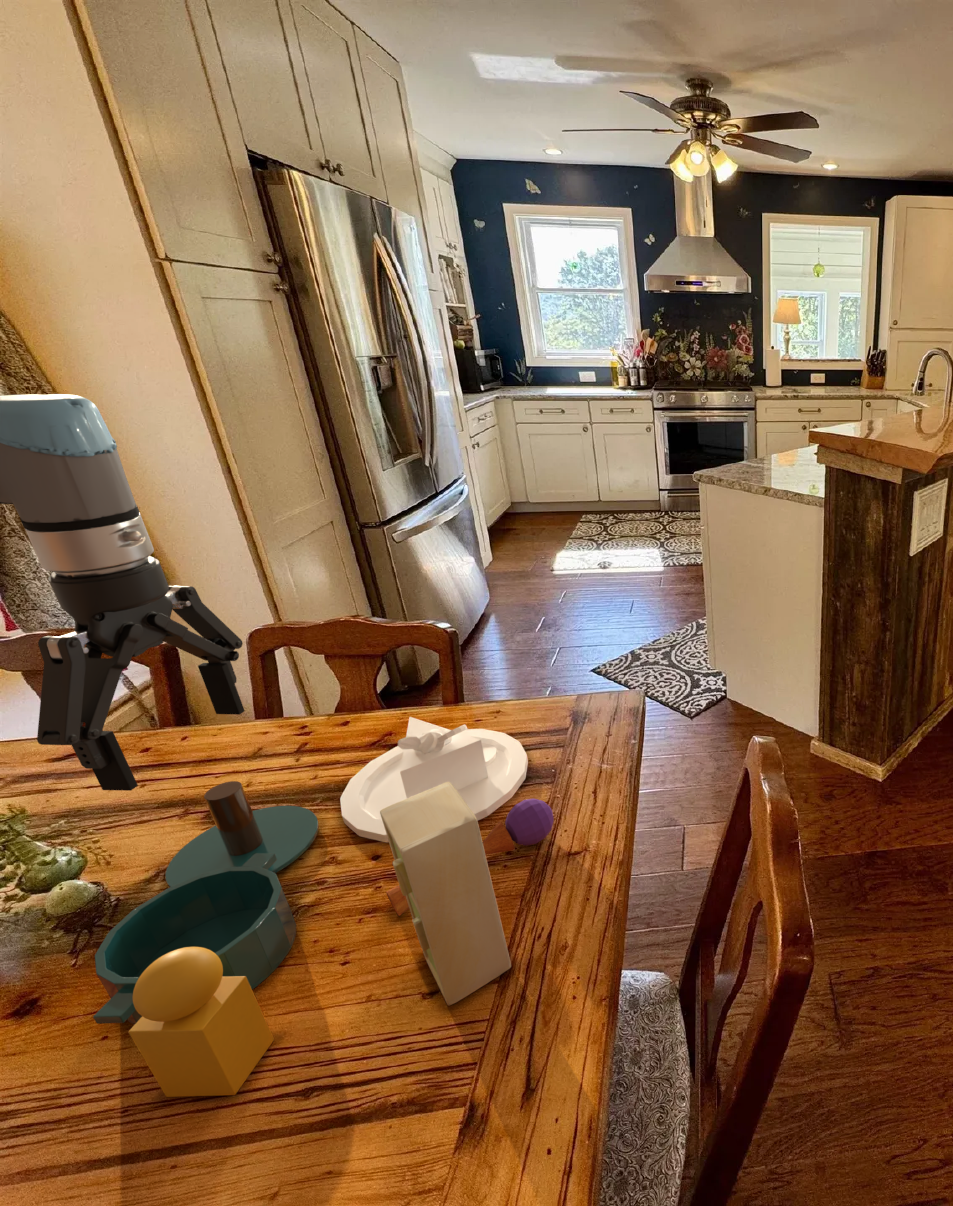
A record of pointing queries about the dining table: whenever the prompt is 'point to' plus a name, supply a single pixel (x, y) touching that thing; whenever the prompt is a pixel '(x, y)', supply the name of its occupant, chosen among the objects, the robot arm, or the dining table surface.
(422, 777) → the dish
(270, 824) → the lid
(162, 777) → the dining table surface
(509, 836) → the kendama
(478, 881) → the toy refrigerator
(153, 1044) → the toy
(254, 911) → the pot
